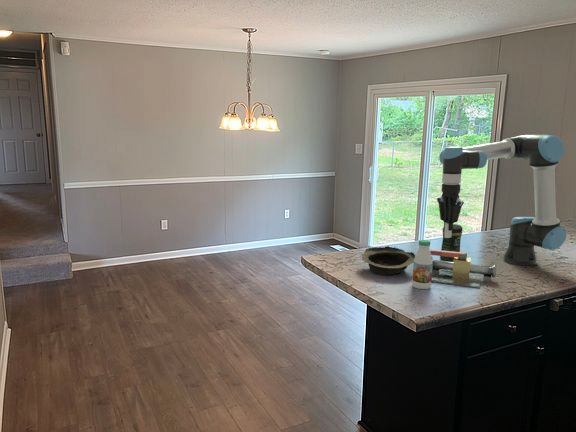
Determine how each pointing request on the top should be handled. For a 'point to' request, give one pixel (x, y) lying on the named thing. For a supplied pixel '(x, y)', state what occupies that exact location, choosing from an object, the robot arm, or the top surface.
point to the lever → (449, 254)
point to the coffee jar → (452, 242)
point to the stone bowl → (387, 259)
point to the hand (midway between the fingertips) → (447, 237)
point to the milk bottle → (422, 266)
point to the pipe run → (461, 273)
